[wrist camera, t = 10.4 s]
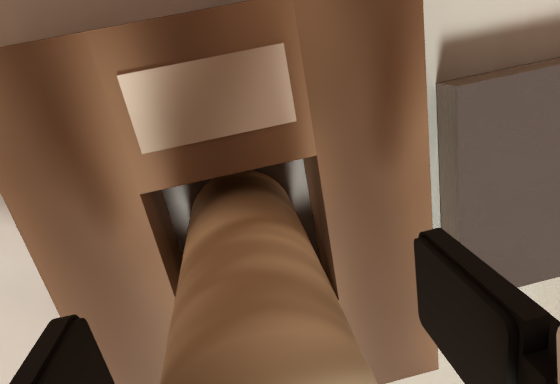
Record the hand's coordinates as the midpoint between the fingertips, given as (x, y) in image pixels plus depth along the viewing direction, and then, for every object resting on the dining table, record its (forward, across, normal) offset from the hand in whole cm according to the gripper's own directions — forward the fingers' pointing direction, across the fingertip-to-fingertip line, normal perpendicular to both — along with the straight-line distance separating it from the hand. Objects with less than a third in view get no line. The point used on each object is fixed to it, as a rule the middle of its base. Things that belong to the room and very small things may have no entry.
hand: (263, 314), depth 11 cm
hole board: (+6, 0, 0) cm, 6 cm away
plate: (+6, -14, +1) cm, 15 cm away
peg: (+6, 0, 0) cm, 6 cm away
